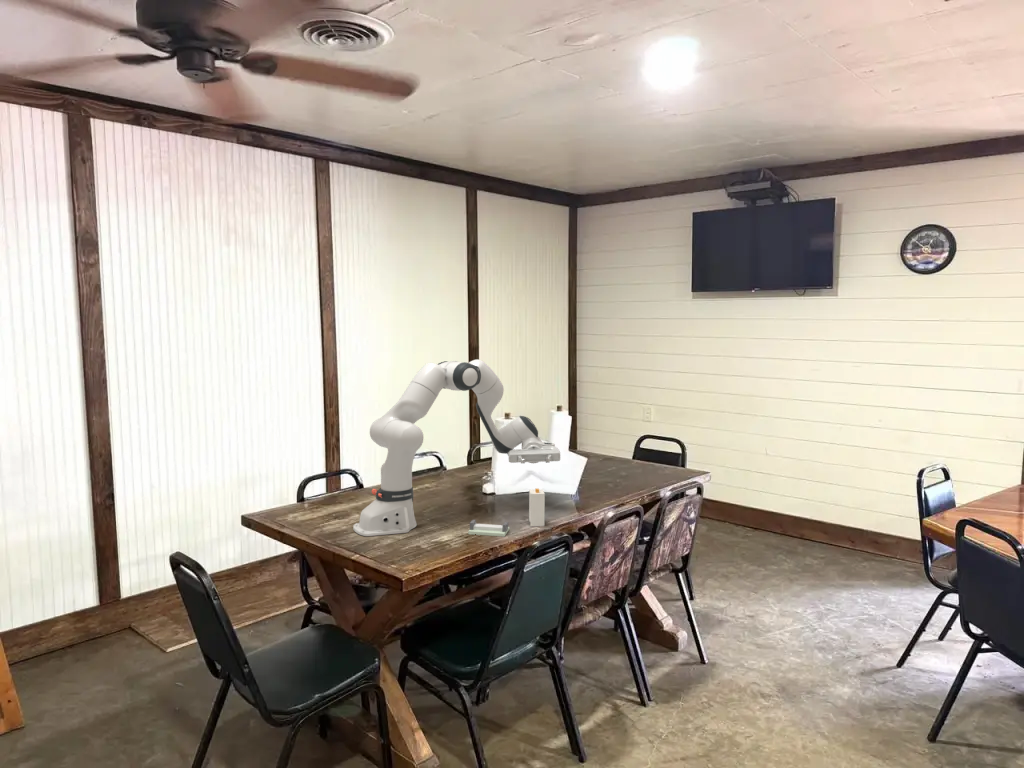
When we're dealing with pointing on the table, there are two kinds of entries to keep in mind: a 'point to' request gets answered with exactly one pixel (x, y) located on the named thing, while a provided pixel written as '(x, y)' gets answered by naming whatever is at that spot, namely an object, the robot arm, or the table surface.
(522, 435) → the robot arm
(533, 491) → the block
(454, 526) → the table surface
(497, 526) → the rail plate
